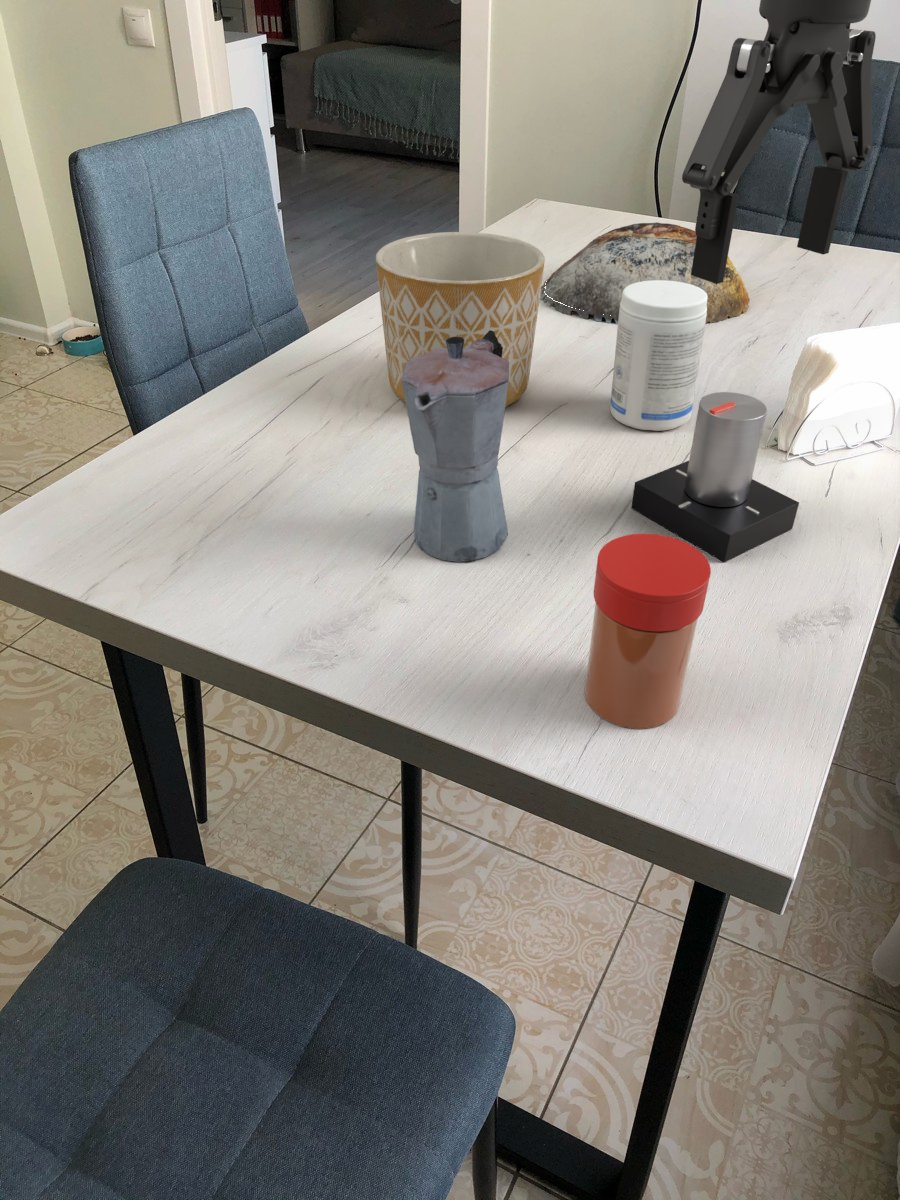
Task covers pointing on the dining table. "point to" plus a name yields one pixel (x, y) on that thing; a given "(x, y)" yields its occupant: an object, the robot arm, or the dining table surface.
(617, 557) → the lid
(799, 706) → the dining table surface
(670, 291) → the supplement tub
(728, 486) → the dial
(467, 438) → the moka pot
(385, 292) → the planter
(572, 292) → the bread
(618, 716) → the jar
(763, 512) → the panel
